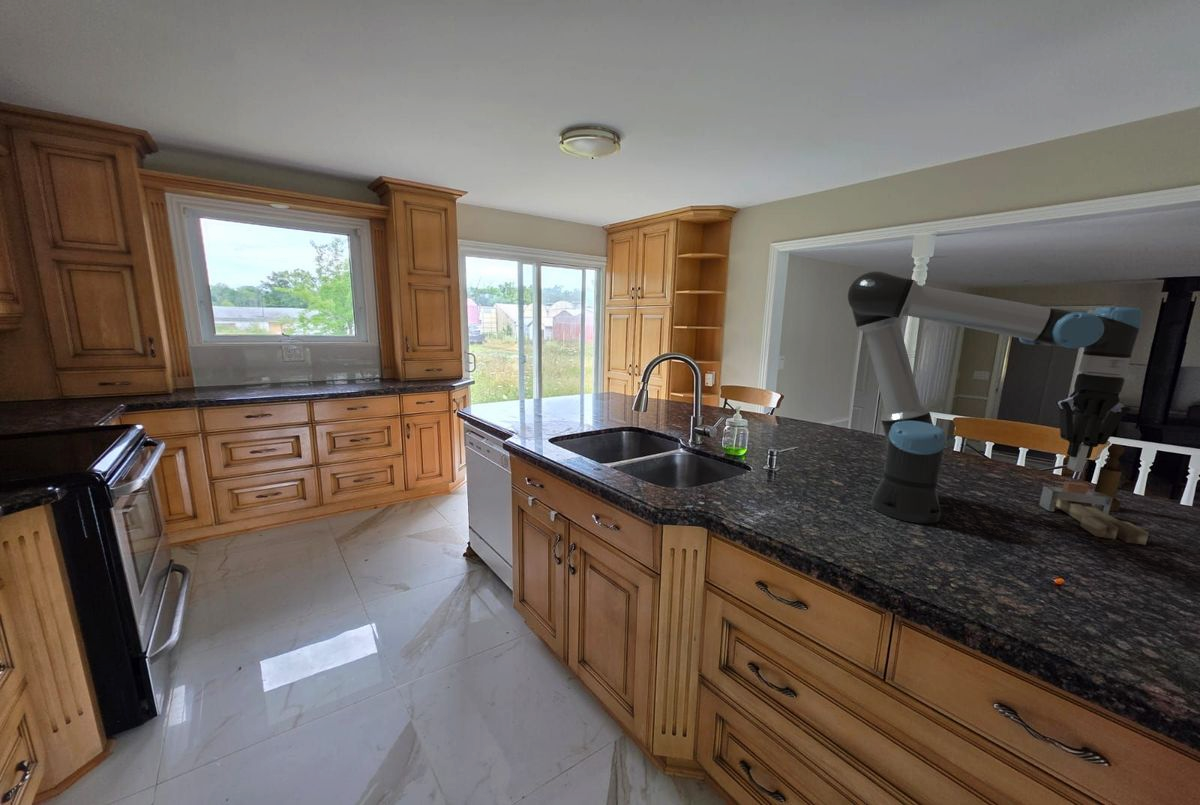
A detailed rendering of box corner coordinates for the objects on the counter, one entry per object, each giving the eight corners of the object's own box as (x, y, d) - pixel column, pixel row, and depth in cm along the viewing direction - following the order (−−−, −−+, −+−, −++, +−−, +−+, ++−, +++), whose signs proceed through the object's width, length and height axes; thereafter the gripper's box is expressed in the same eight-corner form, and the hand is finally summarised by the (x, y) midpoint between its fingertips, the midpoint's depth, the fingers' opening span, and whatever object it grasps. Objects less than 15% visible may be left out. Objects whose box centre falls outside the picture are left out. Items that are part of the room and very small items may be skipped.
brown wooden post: (1126, 512, 121) (1143, 449, 118) (1098, 509, 123) (1114, 447, 119) (1104, 503, 128) (1120, 442, 124) (1077, 500, 129) (1092, 440, 126)
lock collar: (1048, 510, 120) (1054, 483, 119) (1039, 505, 124) (1045, 479, 122) (1107, 518, 116) (1114, 490, 115) (1096, 512, 120) (1102, 485, 119)
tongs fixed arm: (1116, 540, 104) (1120, 528, 104) (1052, 503, 126) (1054, 492, 126) (1145, 544, 103) (1149, 531, 102) (1075, 505, 125) (1077, 495, 124)
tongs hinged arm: (1095, 536, 106) (1100, 519, 105) (1040, 499, 128) (1044, 485, 127) (1129, 541, 104) (1134, 524, 103) (1067, 503, 126) (1071, 488, 125)
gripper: (1077, 373, 102) (1051, 470, 107) (1151, 379, 98) (1120, 479, 103) (1055, 370, 109) (1032, 461, 114) (1124, 375, 105) (1096, 469, 110)
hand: (1074, 469), depth 108 cm, fingers closed
